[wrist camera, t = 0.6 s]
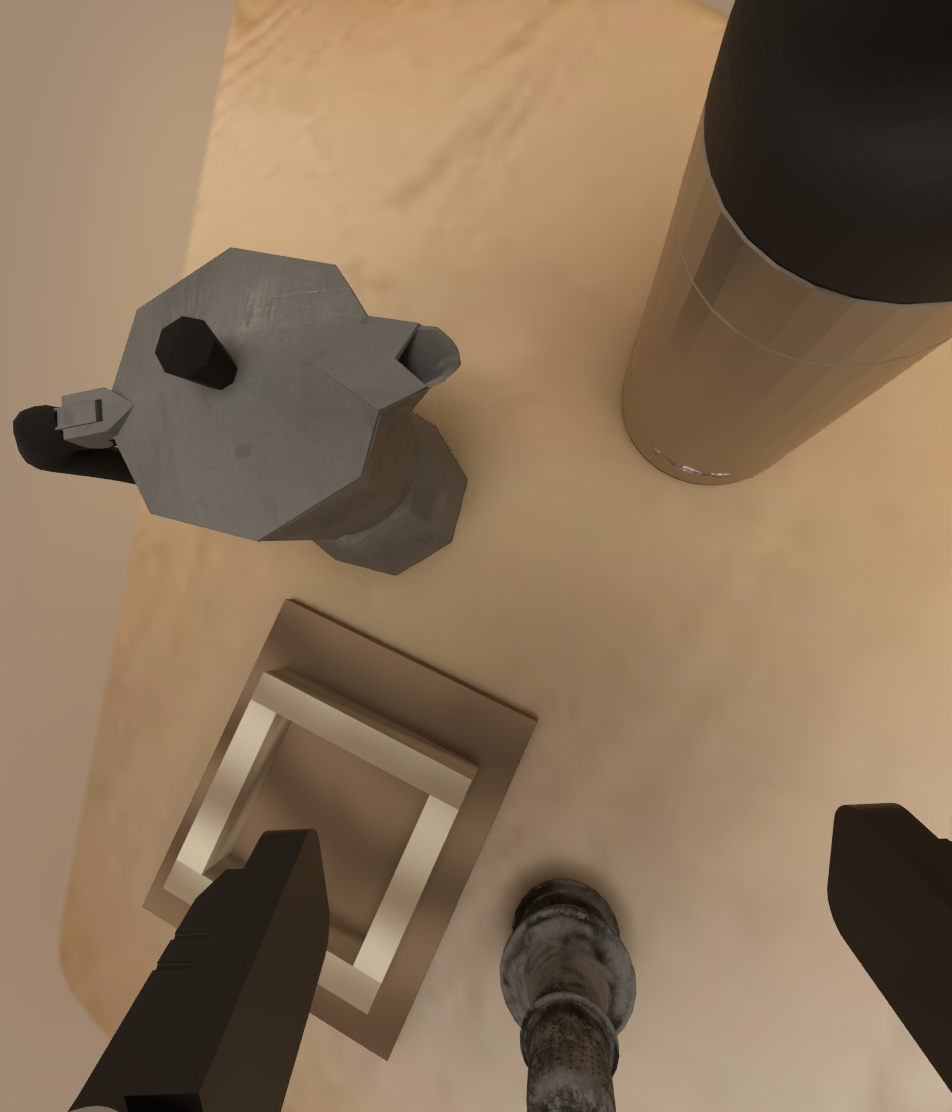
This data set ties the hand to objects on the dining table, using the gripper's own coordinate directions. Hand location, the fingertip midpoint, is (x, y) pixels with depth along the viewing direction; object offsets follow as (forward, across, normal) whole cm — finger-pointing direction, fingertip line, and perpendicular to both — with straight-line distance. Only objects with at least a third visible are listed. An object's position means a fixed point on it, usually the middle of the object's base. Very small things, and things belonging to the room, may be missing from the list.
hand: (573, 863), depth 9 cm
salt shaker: (+16, -2, +18) cm, 24 cm away
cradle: (+19, +10, +13) cm, 25 cm away
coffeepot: (+25, +8, -3) cm, 26 cm away
